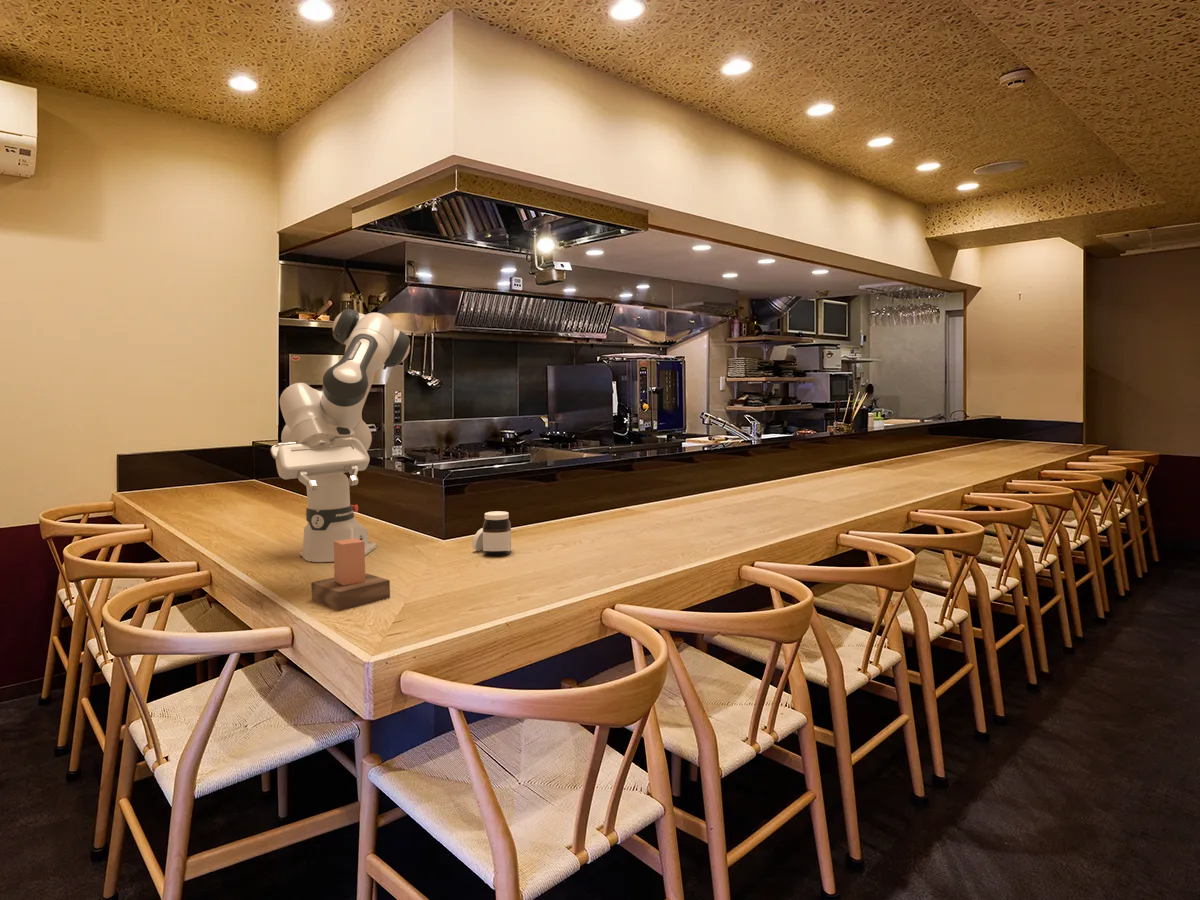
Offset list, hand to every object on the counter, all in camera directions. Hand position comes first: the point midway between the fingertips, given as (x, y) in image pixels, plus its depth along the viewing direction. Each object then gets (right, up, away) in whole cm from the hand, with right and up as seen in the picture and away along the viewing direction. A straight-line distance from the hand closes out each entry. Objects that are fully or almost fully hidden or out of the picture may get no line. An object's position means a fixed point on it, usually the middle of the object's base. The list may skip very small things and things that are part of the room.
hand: (334, 486), depth 156 cm
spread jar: (+29, -21, +42) cm, 56 cm away
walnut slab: (+4, -25, -2) cm, 26 cm away
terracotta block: (+4, -21, -2) cm, 22 cm away
